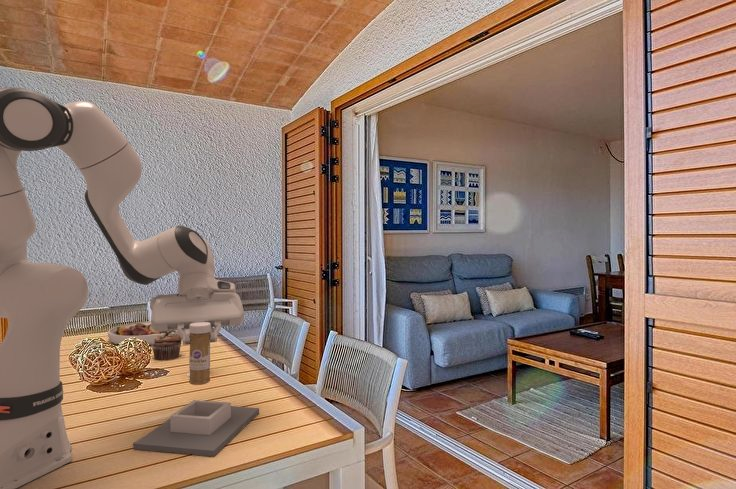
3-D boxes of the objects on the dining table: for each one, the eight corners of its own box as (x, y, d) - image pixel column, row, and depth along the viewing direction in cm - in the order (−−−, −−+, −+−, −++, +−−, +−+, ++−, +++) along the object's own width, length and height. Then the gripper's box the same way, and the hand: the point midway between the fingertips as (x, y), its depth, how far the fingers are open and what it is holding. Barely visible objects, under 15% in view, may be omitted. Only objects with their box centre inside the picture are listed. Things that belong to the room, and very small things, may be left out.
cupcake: (177, 352, 169) (176, 325, 169) (184, 357, 162) (184, 329, 161) (149, 356, 163) (148, 328, 163) (155, 362, 156) (154, 333, 155)
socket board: (213, 456, 91) (213, 433, 91) (133, 449, 94) (132, 426, 94) (259, 412, 113) (259, 394, 113) (192, 408, 116) (192, 389, 116)
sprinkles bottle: (188, 386, 100) (188, 325, 100) (189, 380, 104) (190, 321, 104) (210, 384, 101) (210, 324, 101) (211, 378, 106) (211, 320, 105)
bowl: (123, 333, 202) (122, 315, 202) (194, 330, 208) (193, 312, 207) (95, 350, 173) (95, 330, 173) (179, 346, 178) (179, 326, 178)
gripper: (149, 287, 105) (148, 338, 96) (241, 283, 113) (247, 330, 104) (150, 303, 109) (149, 354, 100) (239, 298, 117) (244, 345, 108)
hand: (200, 342), depth 102 cm, fingers closed on sprinkles bottle, 4 cm apart
